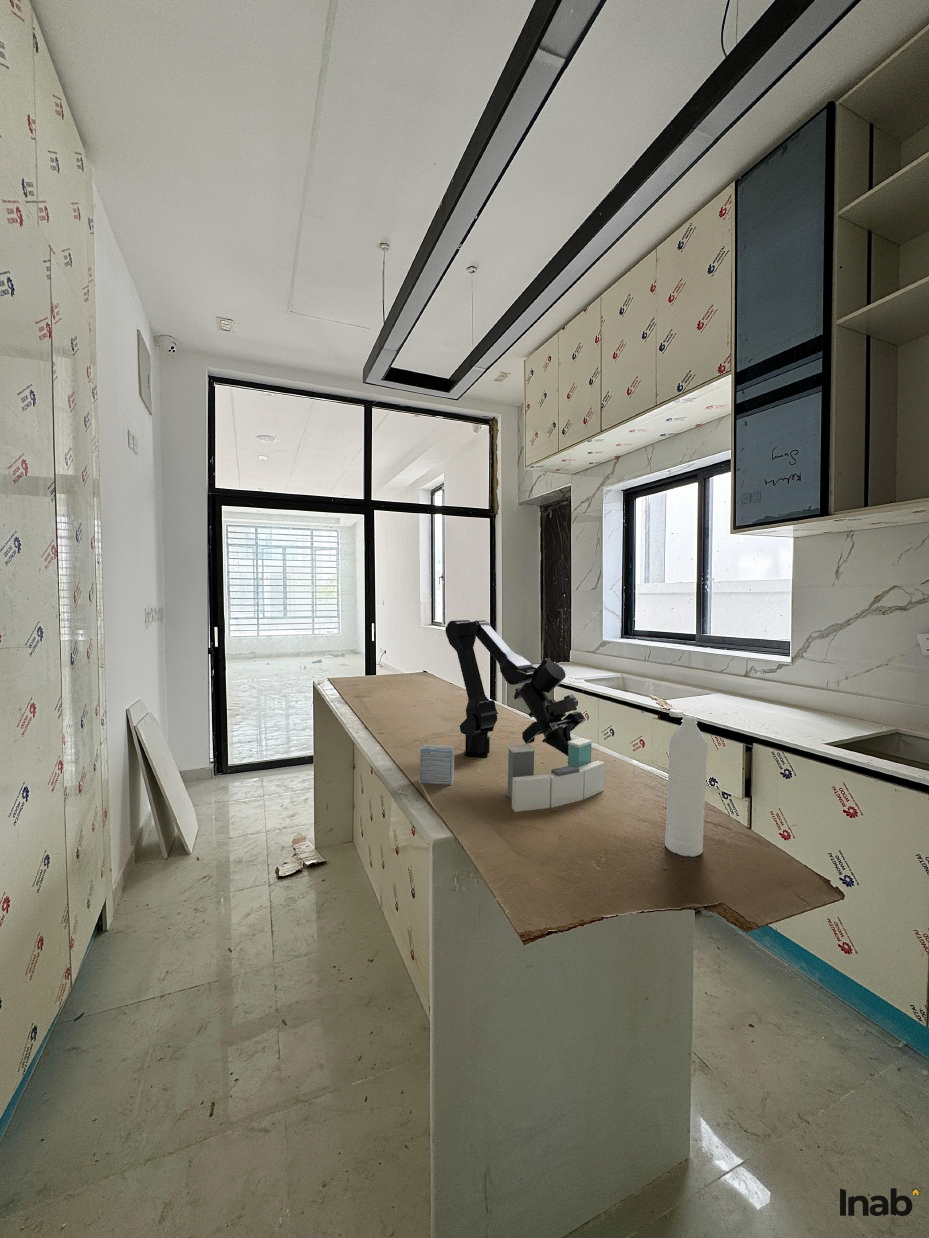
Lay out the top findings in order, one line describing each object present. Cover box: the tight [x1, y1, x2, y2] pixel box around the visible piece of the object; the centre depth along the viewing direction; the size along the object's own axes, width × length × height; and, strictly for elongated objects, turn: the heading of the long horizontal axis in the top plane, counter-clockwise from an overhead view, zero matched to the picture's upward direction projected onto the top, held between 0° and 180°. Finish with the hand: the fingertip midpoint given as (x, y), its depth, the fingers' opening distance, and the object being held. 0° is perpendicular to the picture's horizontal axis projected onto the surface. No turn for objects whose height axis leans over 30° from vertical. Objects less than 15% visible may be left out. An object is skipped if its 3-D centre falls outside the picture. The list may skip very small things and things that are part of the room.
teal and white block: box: [567, 737, 593, 768], centre depth 124 cm, size 3×5×12 cm, turn 133°
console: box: [511, 760, 606, 813], centre depth 118 cm, size 26×4×8 cm, turn 120°
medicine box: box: [419, 744, 455, 786], centre depth 128 cm, size 8×4×9 cm, turn 84°
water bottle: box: [664, 708, 708, 858], centre depth 98 cm, size 9×6×25 cm
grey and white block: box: [507, 743, 536, 801], centre depth 119 cm, size 3×5×12 cm, turn 107°
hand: (573, 757), depth 126 cm, fingers closed
